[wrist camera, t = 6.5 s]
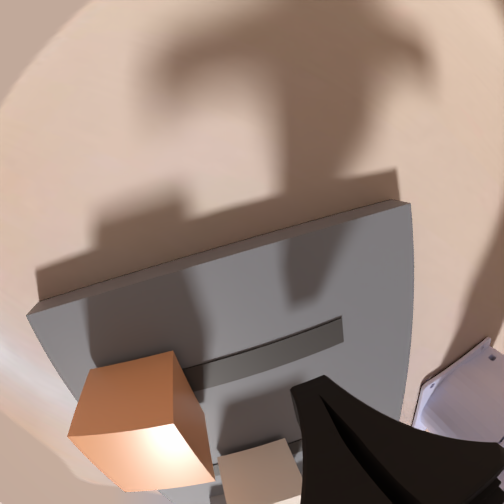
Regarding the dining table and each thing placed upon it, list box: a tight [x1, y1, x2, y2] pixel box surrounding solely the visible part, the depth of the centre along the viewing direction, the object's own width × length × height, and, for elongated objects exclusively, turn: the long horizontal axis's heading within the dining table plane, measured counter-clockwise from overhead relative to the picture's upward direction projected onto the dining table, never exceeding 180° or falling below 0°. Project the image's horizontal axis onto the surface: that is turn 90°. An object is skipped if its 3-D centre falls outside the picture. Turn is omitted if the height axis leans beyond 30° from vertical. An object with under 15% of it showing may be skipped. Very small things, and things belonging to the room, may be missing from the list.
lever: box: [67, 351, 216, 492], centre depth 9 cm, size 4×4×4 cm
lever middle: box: [217, 438, 302, 504], centre depth 12 cm, size 4×4×4 cm
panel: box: [26, 199, 414, 504], centre depth 15 cm, size 18×26×4 cm
